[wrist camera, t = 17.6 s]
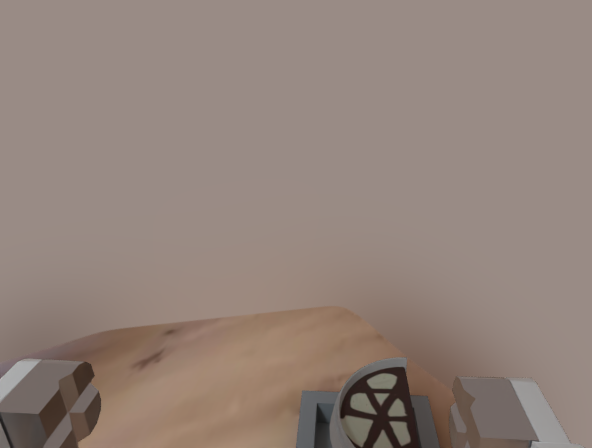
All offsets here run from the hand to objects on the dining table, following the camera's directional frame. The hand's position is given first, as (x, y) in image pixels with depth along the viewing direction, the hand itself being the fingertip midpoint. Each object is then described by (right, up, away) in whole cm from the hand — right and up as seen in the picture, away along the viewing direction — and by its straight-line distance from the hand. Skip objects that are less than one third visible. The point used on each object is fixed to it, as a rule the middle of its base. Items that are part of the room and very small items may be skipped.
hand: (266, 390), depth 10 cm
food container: (+7, -19, +25) cm, 32 cm away
